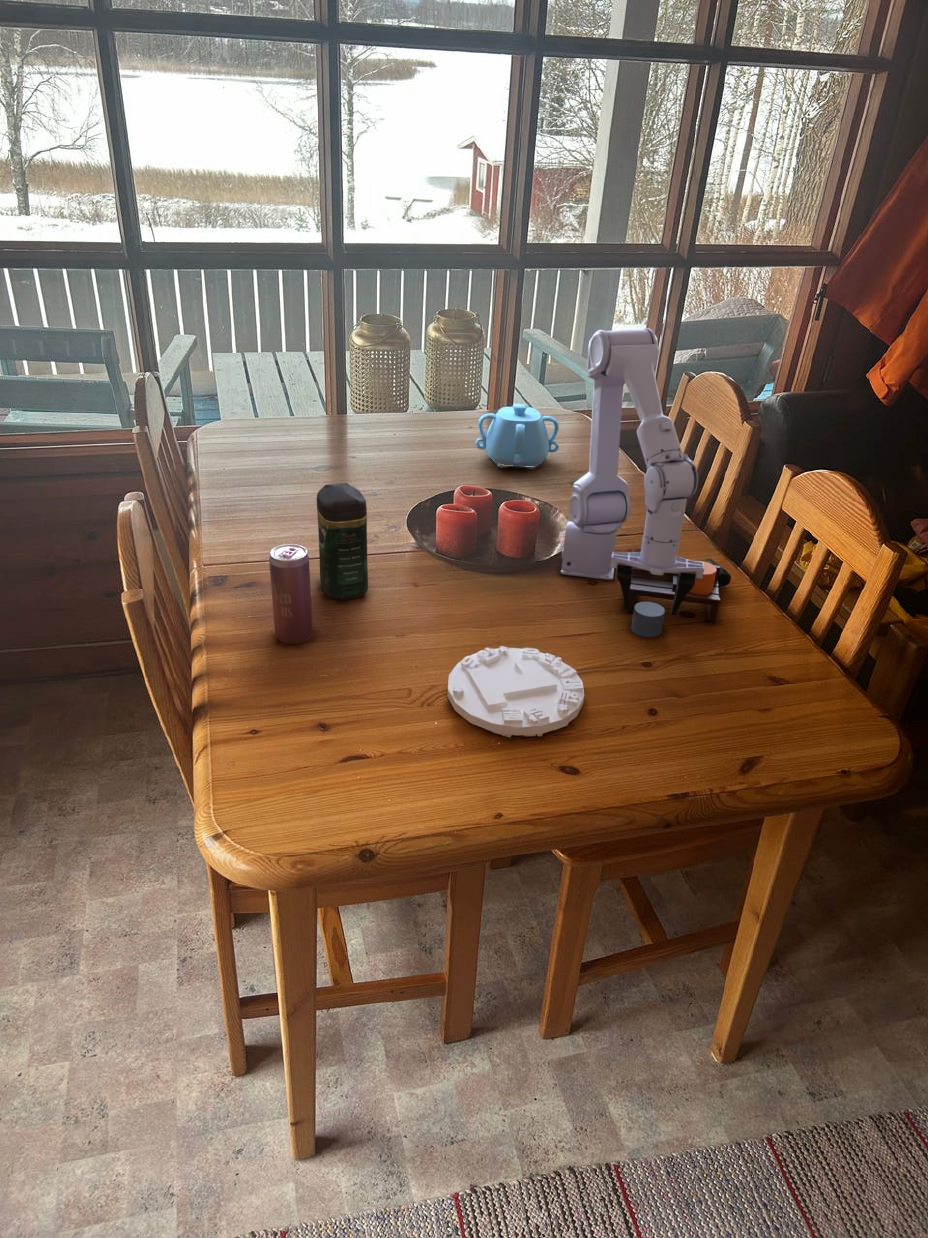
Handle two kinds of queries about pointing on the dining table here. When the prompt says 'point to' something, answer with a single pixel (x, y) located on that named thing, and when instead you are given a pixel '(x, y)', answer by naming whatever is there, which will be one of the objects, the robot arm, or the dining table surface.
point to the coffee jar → (342, 541)
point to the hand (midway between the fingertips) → (649, 609)
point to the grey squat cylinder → (647, 619)
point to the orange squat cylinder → (705, 580)
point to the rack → (670, 590)
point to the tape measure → (723, 574)
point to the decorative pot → (517, 436)
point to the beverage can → (291, 593)
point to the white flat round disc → (515, 691)
